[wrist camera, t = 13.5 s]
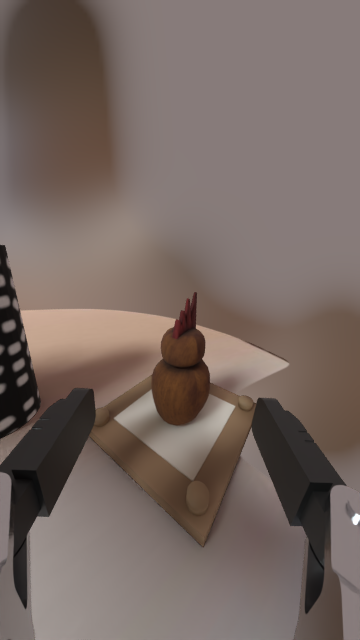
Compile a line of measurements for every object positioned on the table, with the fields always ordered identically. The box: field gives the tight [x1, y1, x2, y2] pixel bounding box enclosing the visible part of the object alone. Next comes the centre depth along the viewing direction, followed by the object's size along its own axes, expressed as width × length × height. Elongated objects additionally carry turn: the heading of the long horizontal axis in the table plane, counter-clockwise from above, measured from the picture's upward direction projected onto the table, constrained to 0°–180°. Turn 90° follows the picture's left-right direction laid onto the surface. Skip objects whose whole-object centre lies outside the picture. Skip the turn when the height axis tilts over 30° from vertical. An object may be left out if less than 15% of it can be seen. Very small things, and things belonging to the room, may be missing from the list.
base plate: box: [89, 375, 256, 547], centre depth 24 cm, size 16×16×2 cm
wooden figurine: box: [151, 292, 210, 426], centre depth 21 cm, size 7×6×15 cm
